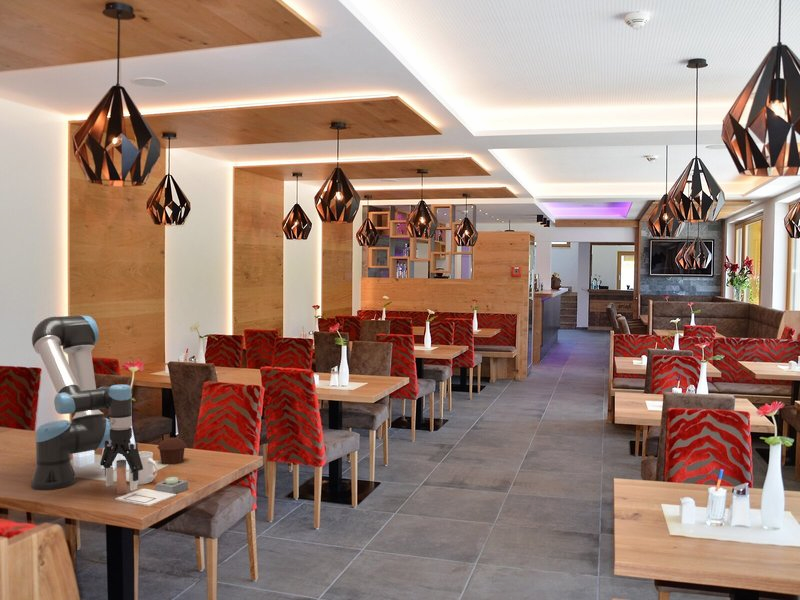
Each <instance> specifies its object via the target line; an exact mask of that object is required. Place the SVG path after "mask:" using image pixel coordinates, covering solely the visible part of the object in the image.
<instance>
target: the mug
mask: <svg viewBox="0 0 800 600" xmlns="http://www.w3.org/2000/svg"><path fill="white" fill-rule="evenodd" d="M138 452H139V456H140V459H141V463H142V466H143V470H140V471H139V472H138V480H137V483H138V486H139V485H140V486H141V485H147V484H150V483H151V482H153V480H155V478H156V477H157V474H158V466H157V463H156V462H155V460H154V453H153V452H152V451H145V450H144V451H143V450H142V451H138ZM128 467H129V466H128ZM154 468H155V474H154ZM134 469H135V467H134ZM130 472H131V469H130V467H129V471H128V474H129V481H130Z"/></svg>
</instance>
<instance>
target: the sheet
mask: <svg viewBox="0 0 800 600" xmlns="http://www.w3.org/2000/svg"><path fill="white" fill-rule="evenodd" d="M175 497H177V494H172V493H167V492H161V491H156V489H155V490H154V489H148V488H141V489H137V490H134V491H132V492H129V493H126V494H123V495H121V496H119V497H115V501H118V502H123V503H129V504H134V505H138V506H139V505H140V506H145V507H152V506H154V505H158V504H159V503H162V502H164V501H168V500H171V499H172V498H175Z"/></svg>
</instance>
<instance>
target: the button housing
mask: <svg viewBox="0 0 800 600" xmlns="http://www.w3.org/2000/svg"><path fill="white" fill-rule="evenodd" d="M188 489H189V481H188V480H183V479H178V483H177V484H174V485H167V484H166V481H165V480H163V481H160V482H157V483H155V491H161V492H167V493H172V494H176V495H177V494H179V493H181V492H184V491H186V490H188Z"/></svg>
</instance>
